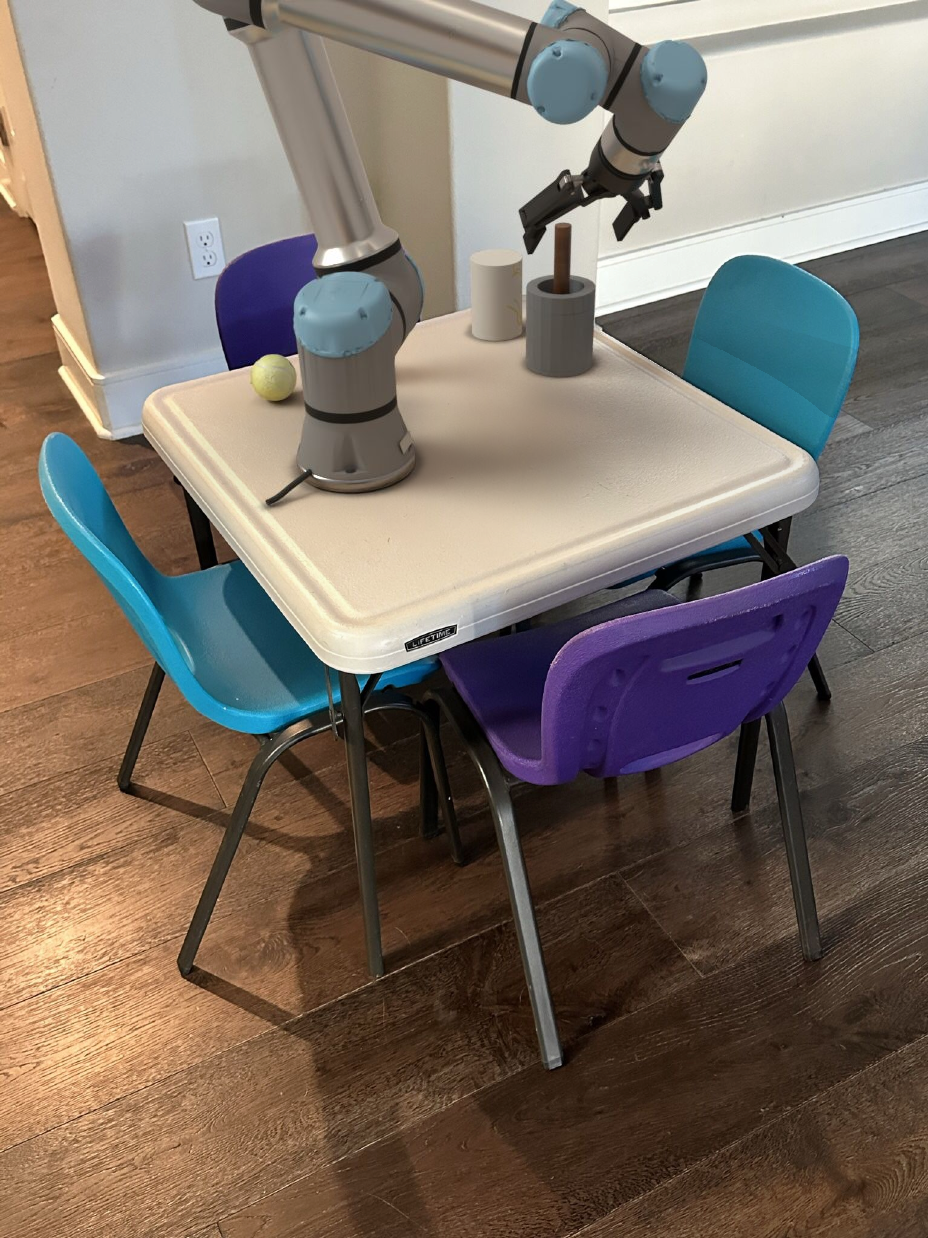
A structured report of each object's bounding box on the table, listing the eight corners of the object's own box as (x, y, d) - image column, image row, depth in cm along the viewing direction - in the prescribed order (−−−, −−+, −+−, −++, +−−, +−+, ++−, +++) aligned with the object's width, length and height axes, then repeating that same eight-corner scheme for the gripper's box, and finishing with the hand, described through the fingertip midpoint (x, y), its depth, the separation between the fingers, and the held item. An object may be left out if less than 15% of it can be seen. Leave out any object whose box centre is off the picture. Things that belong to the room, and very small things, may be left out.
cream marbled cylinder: (522, 340, 179) (522, 265, 172) (471, 341, 179) (469, 266, 172) (521, 321, 186) (521, 248, 179) (472, 322, 186) (470, 249, 179)
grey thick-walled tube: (562, 382, 166) (564, 303, 159) (512, 364, 171) (512, 287, 164) (605, 362, 171) (609, 284, 164) (556, 345, 177) (557, 269, 170)
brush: (561, 367, 168) (564, 231, 156) (538, 358, 171) (540, 225, 159) (581, 357, 171) (586, 224, 159) (558, 349, 173) (561, 217, 162)
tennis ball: (301, 406, 162) (295, 362, 158) (254, 411, 161) (247, 367, 157) (297, 387, 167) (292, 344, 163) (252, 392, 166) (245, 349, 162)
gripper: (542, 189, 132) (496, 276, 153) (728, 165, 139) (660, 251, 159) (525, 132, 133) (481, 225, 154) (710, 110, 140) (645, 203, 160)
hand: (572, 238), depth 156 cm, fingers open, 13 cm apart
